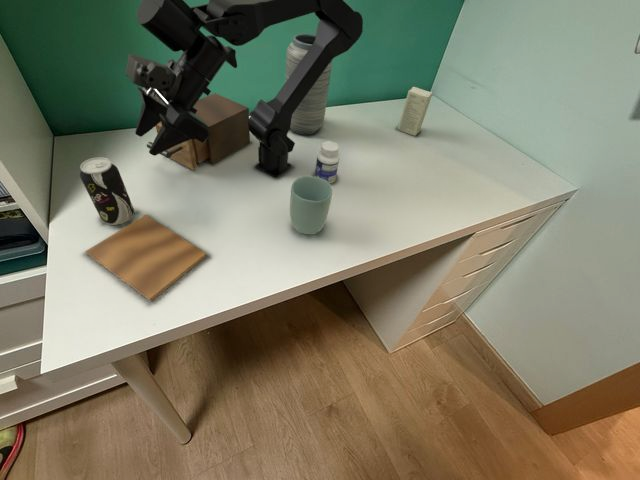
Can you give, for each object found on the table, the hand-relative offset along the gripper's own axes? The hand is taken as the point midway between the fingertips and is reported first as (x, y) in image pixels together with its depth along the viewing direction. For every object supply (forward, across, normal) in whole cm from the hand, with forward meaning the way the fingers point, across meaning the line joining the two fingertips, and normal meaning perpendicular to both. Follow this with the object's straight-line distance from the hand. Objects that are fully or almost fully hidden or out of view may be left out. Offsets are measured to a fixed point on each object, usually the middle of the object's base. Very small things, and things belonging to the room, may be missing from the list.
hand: (144, 144), depth 58 cm
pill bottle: (-16, +10, +35) cm, 39 cm away
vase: (-22, -13, +42) cm, 49 cm away
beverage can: (+16, 0, +4) cm, 16 cm away
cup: (-6, +21, +25) cm, 33 cm away
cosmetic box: (-43, +3, +63) cm, 76 cm away
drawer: (+1, -13, +17) cm, 21 cm away
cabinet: (-4, -15, +23) cm, 28 cm away
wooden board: (+14, +12, +5) cm, 20 cm away
